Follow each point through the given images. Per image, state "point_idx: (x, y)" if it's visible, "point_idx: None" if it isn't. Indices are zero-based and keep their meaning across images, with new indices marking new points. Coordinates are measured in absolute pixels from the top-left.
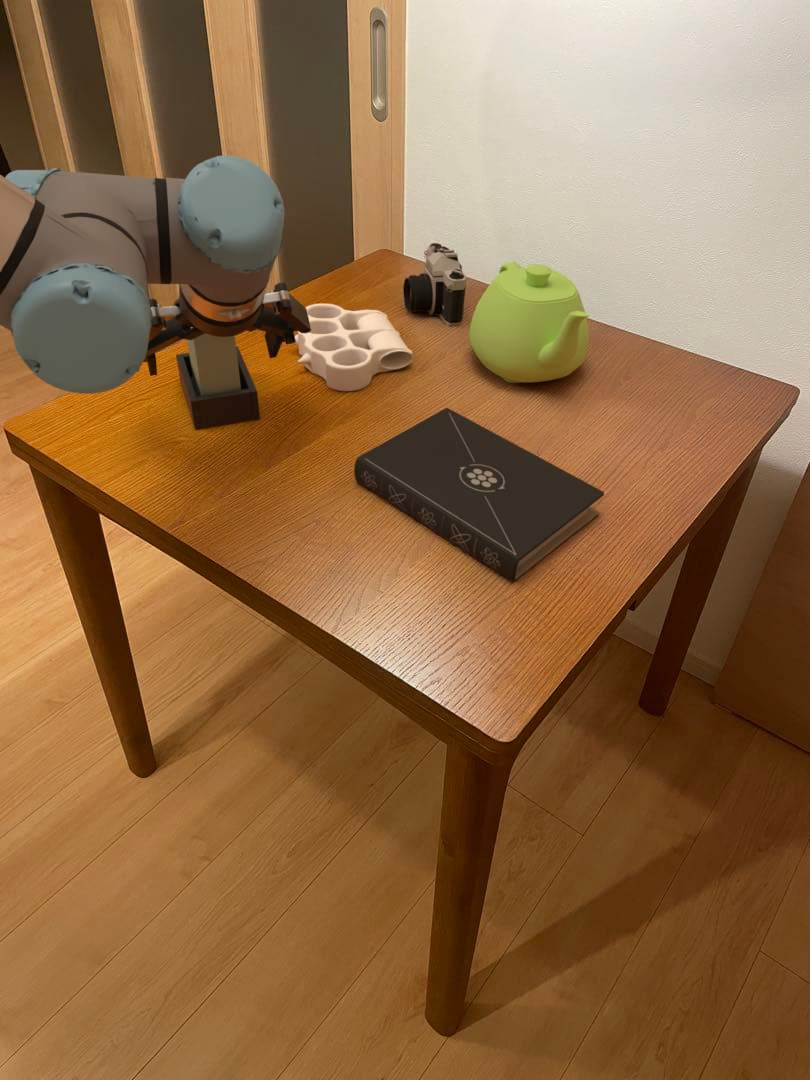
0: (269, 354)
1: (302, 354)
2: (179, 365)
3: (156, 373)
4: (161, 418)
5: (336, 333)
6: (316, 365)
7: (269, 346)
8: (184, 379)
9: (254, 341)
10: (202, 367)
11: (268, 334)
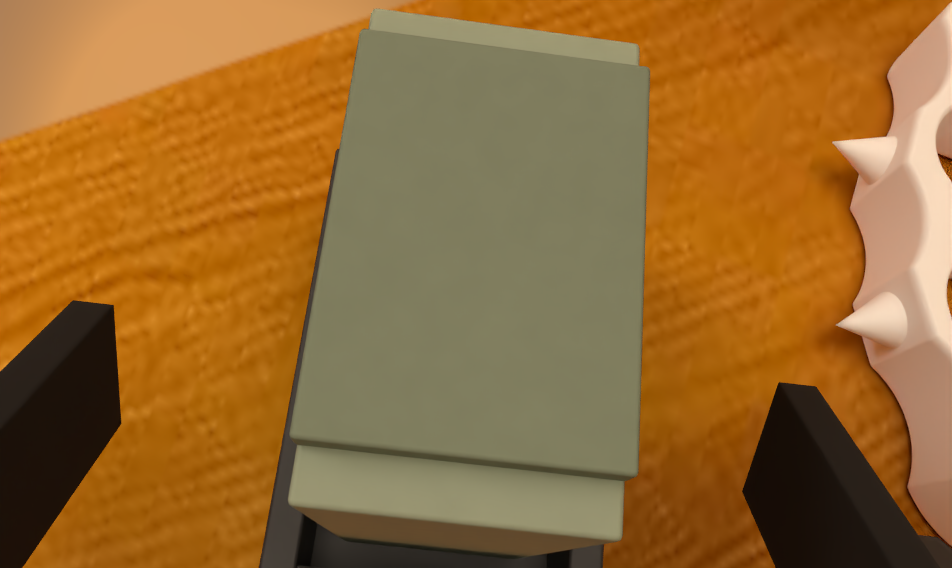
0: (751, 488)
1: (862, 223)
2: (319, 244)
3: (105, 441)
4: (179, 443)
5: None
6: (910, 372)
7: (778, 503)
8: (297, 378)
9: (701, 49)
10: (347, 530)
11: (816, 495)
